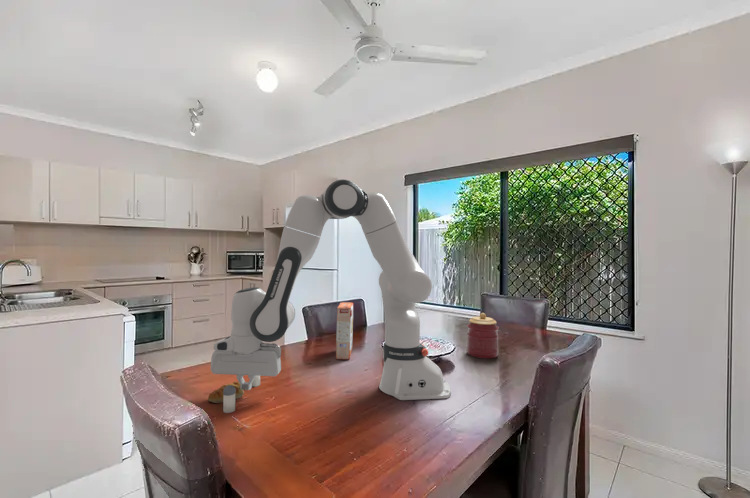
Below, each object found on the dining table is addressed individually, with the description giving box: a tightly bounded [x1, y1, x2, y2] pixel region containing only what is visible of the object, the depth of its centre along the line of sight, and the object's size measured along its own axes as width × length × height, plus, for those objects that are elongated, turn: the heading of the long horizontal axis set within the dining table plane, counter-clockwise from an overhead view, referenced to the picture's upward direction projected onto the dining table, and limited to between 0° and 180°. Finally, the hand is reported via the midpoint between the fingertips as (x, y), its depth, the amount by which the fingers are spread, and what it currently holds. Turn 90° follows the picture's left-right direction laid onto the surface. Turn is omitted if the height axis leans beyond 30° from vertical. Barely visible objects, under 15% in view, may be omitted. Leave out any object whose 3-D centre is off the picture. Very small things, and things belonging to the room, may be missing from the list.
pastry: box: [207, 381, 245, 404], centre depth 105 cm, size 9×7×4 cm
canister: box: [466, 312, 500, 359], centre depth 152 cm, size 13×13×18 cm
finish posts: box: [222, 376, 261, 414], centre depth 106 cm, size 3×21×7 cm, turn 177°
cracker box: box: [335, 301, 354, 361], centre depth 148 cm, size 14×6×21 cm, turn 179°
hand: (246, 389), depth 106 cm, fingers closed
